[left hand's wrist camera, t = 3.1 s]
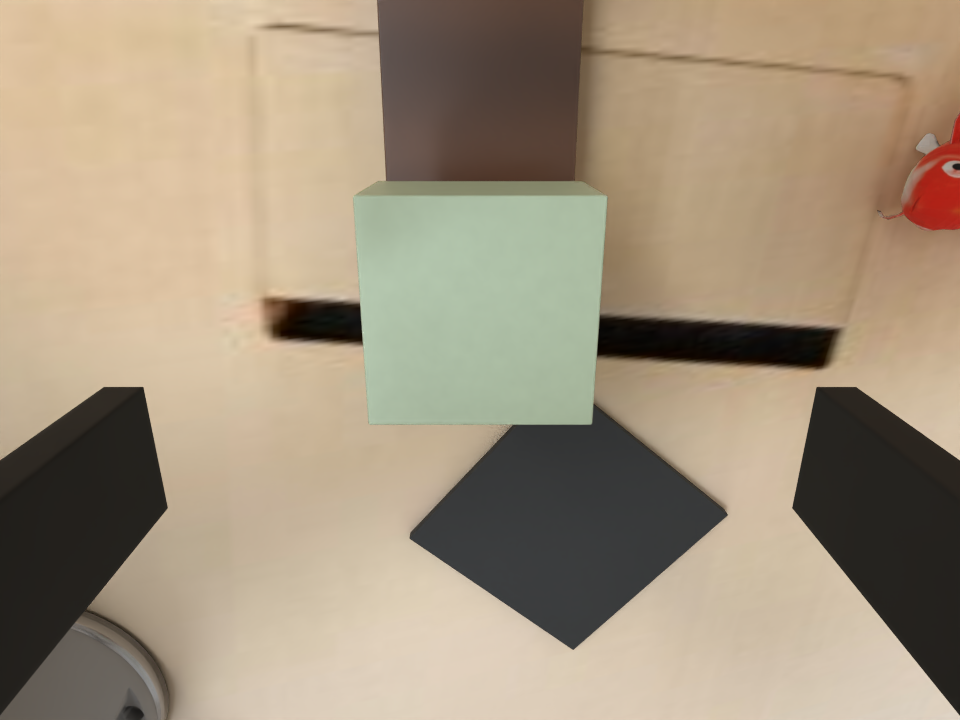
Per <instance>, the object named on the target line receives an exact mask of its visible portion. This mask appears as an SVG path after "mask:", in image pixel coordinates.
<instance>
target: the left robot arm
mask: <svg viewBox="0 0 960 720" xmlns="http://www.w3.org/2000/svg"><path fill="white" fill-rule="evenodd" d="M167 508H168V507H167V502H166V497H165V492H164V487H163V482H162V477H161V473H160V468H159V463H158V458H157V453H156V448H155V443H154V438H153V433H152V428H151V423H150V418H149V413H148V408H147V403H146V398H145V393H144V388H143V387H103V388H102V389H101V390H99V391H98V392H96V393H95V394H94V395H92V396H91V397H89V398H88V399H87V400H85V401H84V402H82V403H81V404H79V405H78V406H77V407H75V408H74V409H72V410H71V411H70V412H68V413H67V414H65V415H64V416H62V417H61V418H60V419H58V420H57V421H55V422H54V423H53V424H51V425H50V426H48V427H47V428H45V429H44V430H43V431H41V432H40V433H38V434H37V435H36V436H34V437H33V438H31V439H30V440H29V441H27V442H26V443H24V444H23V445H21V446H20V447H19V448H17V449H16V450H14V451H13V452H12V453H10V454H9V455H7V456H6V457H4V458H3V459H2V460H0V720H166V718H167V715H168V708H169V697H168V690H167V686H166V683H165V680H164V678H163V675H162V673H161V671H160V669H159V667H158V666H157V664H156V663H155V661H154V660H153V658H152V657H151V656H150V655H149V653H148V652H147V651H146V650H145V649H144V648H143V647H142V646H141V645H140V644H139V643H138V642H137V641H136V640H135V639H134V638H132V637H131V636H130V635H129V634H127V633H126V632H125V631H123V630H122V629H120V628H119V627H117V626H115V625H114V624H112V623H110V622H108V621H106V620H105V619H103V618H101V617H98V616H96V615H94V614H91V613H89V612H86V611H85V610H86V609H87V607H88V606H89V605H90V604H91V602H92V601H93V600H94V599H95V597H96V596H97V595H98V594H99V592H100V591H101V590H102V589H103V587H104V586H105V585H106V584H107V583H108V581H109V580H110V579H111V578H112V576H113V575H114V574H115V573H116V571H117V570H118V569H119V568H120V566H121V565H122V564H123V563H124V561H125V560H126V559H127V558H128V557H129V555H130V554H131V553H132V552H133V550H134V549H135V548H136V547H137V545H138V544H139V543H140V542H141V540H142V539H143V538H144V537H145V535H146V534H147V533H148V532H149V531H150V529H151V528H152V527H153V526H154V524H155V523H156V522H157V521H158V519H159V518H160V517H161V516H162V514H163V513H164V512H165V511H166V509H167ZM792 508H793V509H794V511H795V512H796V513H797V514H798V516H799V517H800V518H801V519H802V521H803V522H804V523H805V524H806V526H807V527H808V528H809V529H810V531H811V532H812V533H813V534H814V535H815V537H816V538H817V539H818V540H819V542H820V543H821V544H822V545H823V547H824V548H825V549H826V550H827V552H828V553H829V554H830V555H831V557H832V558H833V559H834V560H835V561H836V563H837V564H838V565H839V566H840V568H841V569H842V570H843V571H844V573H845V574H846V575H847V576H848V578H849V579H850V580H851V581H852V583H853V584H854V585H855V586H856V587H857V589H858V590H859V591H860V592H861V594H862V595H863V596H864V597H865V599H866V600H867V601H868V602H869V604H870V605H871V606H872V607H873V609H874V610H875V611H876V612H877V613H878V615H879V616H880V617H881V618H882V620H883V621H884V622H885V623H886V625H887V626H888V627H889V628H890V630H891V631H892V632H893V633H894V635H895V636H896V637H897V638H898V639H899V641H900V642H901V643H902V644H903V646H904V647H905V648H906V649H907V651H908V652H909V653H910V654H911V656H912V657H913V658H914V659H915V661H916V662H917V663H918V664H919V665H920V667H921V668H922V669H923V670H924V672H925V673H926V674H927V675H928V677H929V678H930V679H931V680H932V682H933V683H934V684H935V685H936V687H937V688H938V689H939V690H940V691H941V693H942V694H943V695H944V696H945V698H946V699H947V700H948V701H949V703H950V704H951V705H952V706H953V708H954V709H955V710H956V711H957V713H958V714H959V715H960V460H958V459H957V458H956V457H954V456H953V455H951V454H950V453H948V452H947V451H946V450H944V449H943V448H941V447H940V446H939V445H937V444H936V443H934V442H933V441H931V440H930V439H929V438H927V437H926V436H924V435H923V434H922V433H920V432H919V431H917V430H916V429H915V428H913V427H912V426H910V425H909V424H907V423H906V422H905V421H903V420H902V419H900V418H899V417H898V416H896V415H895V414H893V413H892V412H890V411H889V410H888V409H886V408H885V407H883V406H882V405H881V404H879V403H878V402H876V401H875V400H873V399H872V398H871V397H869V396H868V395H866V394H865V393H864V392H862V391H861V390H859V389H858V388H857V387H817V388H816V393H815V398H814V403H813V408H812V413H811V418H810V423H809V428H808V433H807V438H806V443H805V448H804V453H803V458H802V463H801V468H800V473H799V477H798V482H797V487H796V492H795V497H794V502H793V507H792Z"/></svg>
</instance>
